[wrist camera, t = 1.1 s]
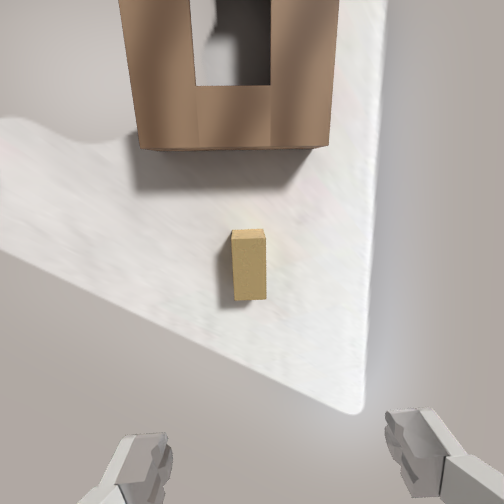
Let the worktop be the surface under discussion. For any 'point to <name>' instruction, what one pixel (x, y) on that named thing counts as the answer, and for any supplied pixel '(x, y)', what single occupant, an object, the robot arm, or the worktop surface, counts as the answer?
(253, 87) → the walnut square frame
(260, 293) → the wooden toy block
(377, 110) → the worktop surface
